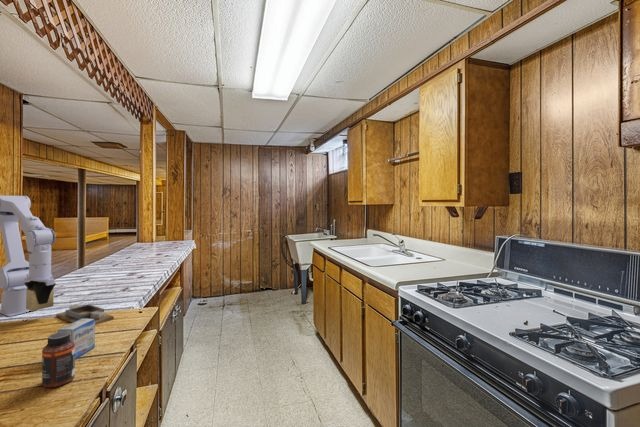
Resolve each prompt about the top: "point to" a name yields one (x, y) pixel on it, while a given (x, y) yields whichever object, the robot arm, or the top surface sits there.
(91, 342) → the medicine box
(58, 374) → the supplement bottle
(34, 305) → the block
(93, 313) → the brown board
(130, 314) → the top surface
